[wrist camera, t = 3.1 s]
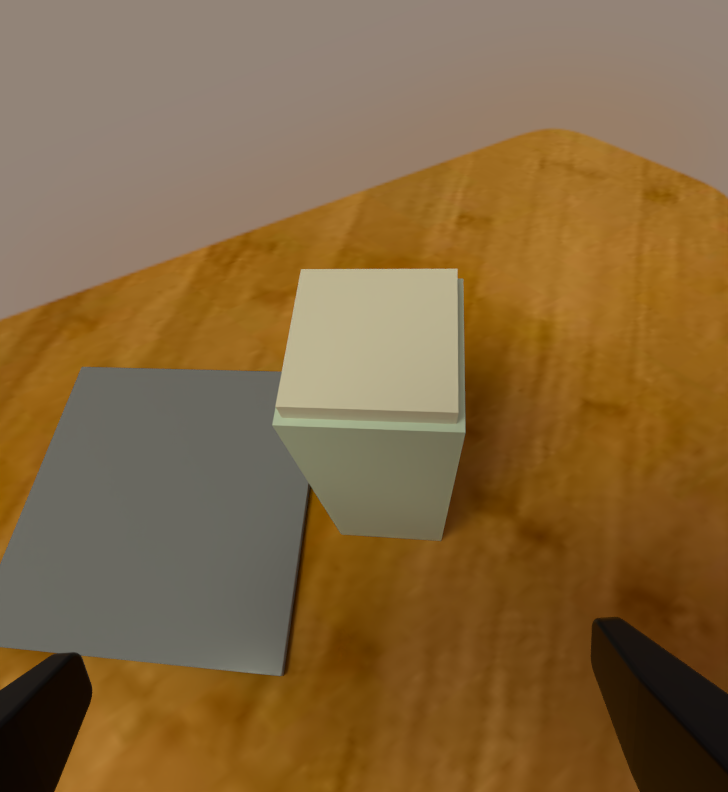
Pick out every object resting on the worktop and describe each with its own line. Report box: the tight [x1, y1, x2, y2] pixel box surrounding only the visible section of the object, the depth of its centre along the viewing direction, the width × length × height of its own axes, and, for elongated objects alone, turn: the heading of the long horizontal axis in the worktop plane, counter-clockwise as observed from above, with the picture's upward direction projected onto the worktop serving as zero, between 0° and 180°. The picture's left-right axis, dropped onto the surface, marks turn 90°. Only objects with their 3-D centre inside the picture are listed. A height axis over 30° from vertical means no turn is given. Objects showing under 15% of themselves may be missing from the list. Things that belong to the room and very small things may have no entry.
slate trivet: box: [0, 367, 310, 676], centre depth 23 cm, size 14×14×1 cm
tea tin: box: [272, 269, 465, 541], centre depth 17 cm, size 4×4×13 cm
